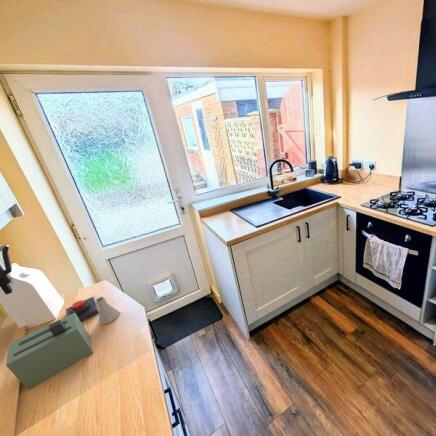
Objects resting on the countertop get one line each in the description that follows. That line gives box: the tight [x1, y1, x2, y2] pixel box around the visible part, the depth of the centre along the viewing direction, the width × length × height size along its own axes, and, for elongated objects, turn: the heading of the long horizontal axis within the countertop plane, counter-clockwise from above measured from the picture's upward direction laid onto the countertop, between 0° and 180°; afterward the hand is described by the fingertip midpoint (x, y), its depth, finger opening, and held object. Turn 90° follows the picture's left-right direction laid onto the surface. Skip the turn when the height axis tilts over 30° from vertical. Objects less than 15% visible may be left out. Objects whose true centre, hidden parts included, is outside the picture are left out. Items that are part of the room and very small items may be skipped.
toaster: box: [5, 313, 94, 391], centre depth 83 cm, size 11×17×12 cm, turn 133°
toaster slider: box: [48, 319, 66, 337], centre depth 81 cm, size 2×3×4 cm
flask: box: [95, 296, 121, 325], centre depth 100 cm, size 7×7×10 cm
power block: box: [65, 296, 99, 323], centre depth 105 cm, size 12×10×4 cm
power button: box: [71, 299, 85, 310], centre depth 104 cm, size 4×4×2 cm
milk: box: [0, 262, 65, 330], centre depth 102 cm, size 12×12×26 cm
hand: (9, 291), depth 88 cm, fingers closed
